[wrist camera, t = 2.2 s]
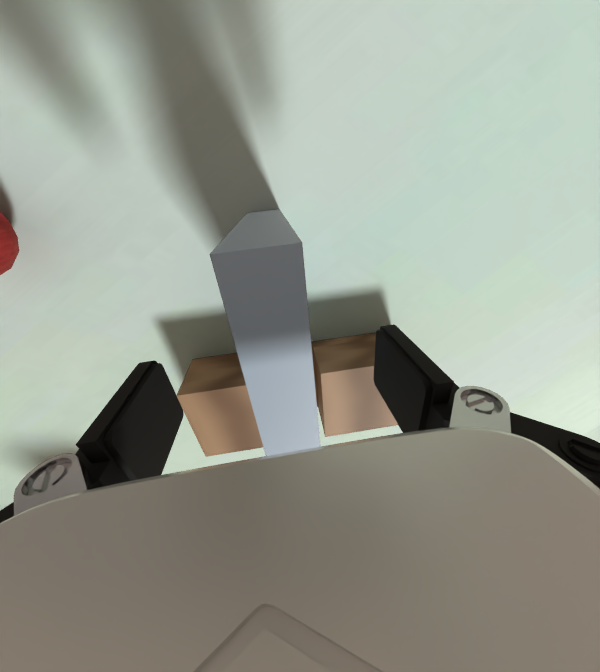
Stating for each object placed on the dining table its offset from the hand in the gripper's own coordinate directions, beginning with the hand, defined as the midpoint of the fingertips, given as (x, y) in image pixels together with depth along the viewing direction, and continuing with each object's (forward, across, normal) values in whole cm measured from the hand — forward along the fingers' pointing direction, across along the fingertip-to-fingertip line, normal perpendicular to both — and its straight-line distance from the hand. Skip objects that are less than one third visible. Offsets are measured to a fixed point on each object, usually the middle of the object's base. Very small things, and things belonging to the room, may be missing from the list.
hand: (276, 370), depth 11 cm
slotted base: (+12, -1, +10) cm, 16 cm away
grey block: (+12, 0, -1) cm, 12 cm away
